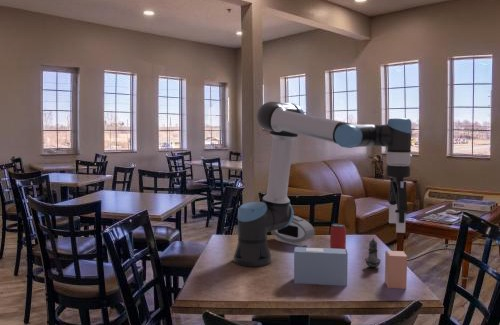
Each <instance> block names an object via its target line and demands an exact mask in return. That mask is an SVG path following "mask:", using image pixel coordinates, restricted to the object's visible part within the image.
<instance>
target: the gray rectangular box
mask: <svg viewBox="0 0 500 325" xmlns="http://www.w3.org/2000/svg"><path fill="white" fill-rule="evenodd" d="M293 250H294V251H293V252H294V253H293V284H295V285H298V284H305V285H322V286H323V285H324V286H342V287H343V286H344V287H347V286H348V260H349V258H348V255H349V254H348V250H347V248H346V249H333V248H330V247H327V248H326V247H307V246H303V247H300V246H294V249H293Z"/></svg>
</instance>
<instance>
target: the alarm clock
mask: <svg viewBox="0 0 500 325" xmlns="http://www.w3.org/2000/svg"><path fill="white" fill-rule="evenodd" d="M315 232H316V231H315V227H314V226H313V225H312V224H311V223H310V222H309V221H307V220H305V219H303V218H301V217H300V216H297V215H294V216H293V220H292V222H291V223H290V224H289V225H288V226H287V227H284V228H283V229H280V230H274V231H271V233H272V234H273V235H274V236H275V240H276V241H277V242H282V243H286V244H290V245H294V246H296V247H307V246H309V241H308V240H310V239H313V237H314V236H315V234H316V233H315Z"/></svg>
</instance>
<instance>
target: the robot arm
mask: <svg viewBox="0 0 500 325" xmlns="http://www.w3.org/2000/svg"><path fill="white" fill-rule="evenodd" d="M256 120H257V123H258V125H259V126H260V127H261V129H263V130H265V131H268V132H269V135H270V137H271V138H272V141H271V142H272V144H271V154H270V162H269V163H270V164H269V171H268V181H267V189H266V190H267V191H266V194H265V195H263V197H262V201H253V202H252V201H251V202H246V203H243V204H241V205H240V206H239V207H238V211H237V245H236V248H235V251H234V254H233V262H234V263H235V264H236V265H239V266H242V267H251V268H252V267H253V268H255V267H262V266H267V265H269V264H271V262H272V254H271V252H270V248H269V245H268V240H267V239H268V237H267V236H268V235H267V234H268V233H269V232H271V233H272V231H274V230H280V229H283V228H284V227H287V226H288V225H289V224H290V223H291V222H292V220H293V216H295V215H294V214H295V213H294V209H293V207H292V206H293V205H291V200H290V199H289V198H290V197H288V189H289V181H290V172H291V164H292V156H293V148H294V141H295V140H296V139H297V138H298V136H304V137H307V138H311V139H312V138H313V139H317V140H321V141H325V142H330V143H333V144H336V145H338V146H340V147H341V148H346V149H352V148H363V147H365V148H366V147H385V148H386V164H387V165H386V170H385V171H386V173H385V174H386V176H387V177H390V178H389V179H390V183H389V190H388V199H387V201H388V203H389V204H388V206H389V207H388V223H389V224H395V232H396V233H399V234H401V233H402V234H405V233H406V219H407V218H406V217H407V215H406V214H407V213H408V211H409V210H408V198H407V196H408V195H407V182H406V181H404V178H409V177H410V176H411V166H410V164H411V159H412V158H413V154H412V153H411V152H412V151H411V149H412V134H413V131H412V130H413V129H412V120H411V119H410V118H407V117H406V118H389V119H387V124H369V123H368V124H365V123H364V124H363V123H362V124H359V123H358V124H355V123H351V122H350V123H349V122H345V121H344V122H343V121H339V120H335V119H330V118H326V117H320V116H314V115H309V114H305V112H304V110H303V108H302V107H301V106H300V105H298V104H296V103H292V102H286V101H285V102H284V101H283V102H280V101H268V102H265V103H263V104H262V105H260V107H259V109H258V110H257V113H256Z"/></svg>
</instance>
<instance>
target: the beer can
mask: <svg viewBox="0 0 500 325" xmlns="http://www.w3.org/2000/svg"><path fill="white" fill-rule="evenodd" d="M329 233H330V234H329V236H330V240H329V242H330V243H329V245H330V246H329V248H333V249H346V250H347V248H346V247H347V244H346V243H347V229H346V225H345V224H343V223H332V224H331V227H330V232H329Z"/></svg>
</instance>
